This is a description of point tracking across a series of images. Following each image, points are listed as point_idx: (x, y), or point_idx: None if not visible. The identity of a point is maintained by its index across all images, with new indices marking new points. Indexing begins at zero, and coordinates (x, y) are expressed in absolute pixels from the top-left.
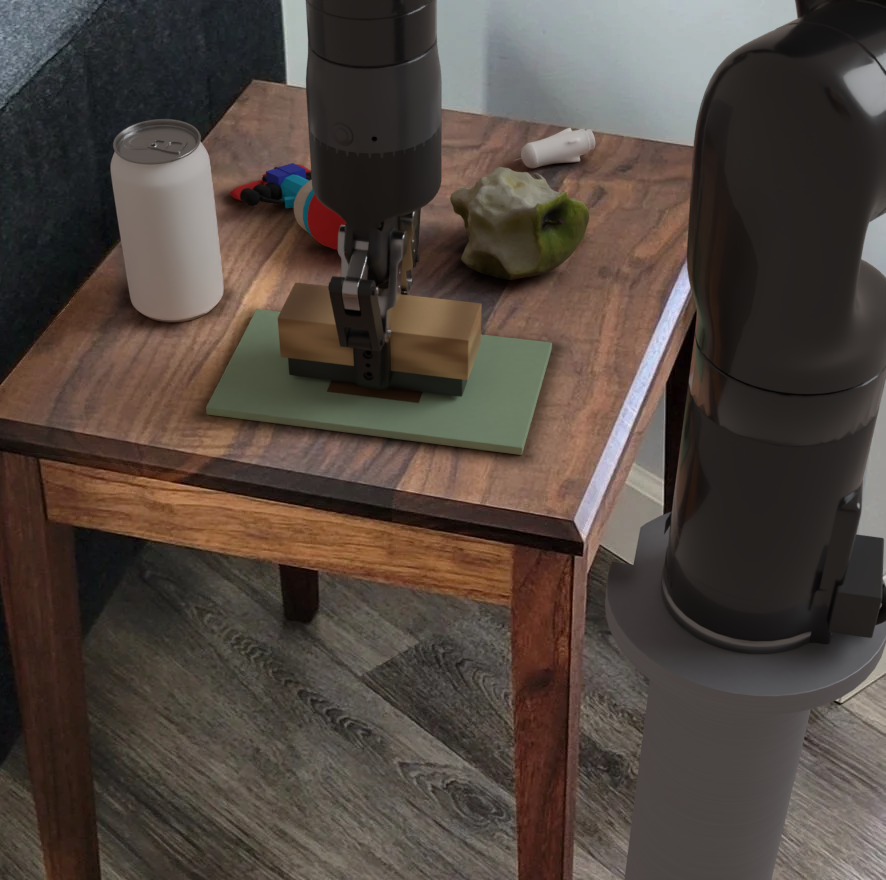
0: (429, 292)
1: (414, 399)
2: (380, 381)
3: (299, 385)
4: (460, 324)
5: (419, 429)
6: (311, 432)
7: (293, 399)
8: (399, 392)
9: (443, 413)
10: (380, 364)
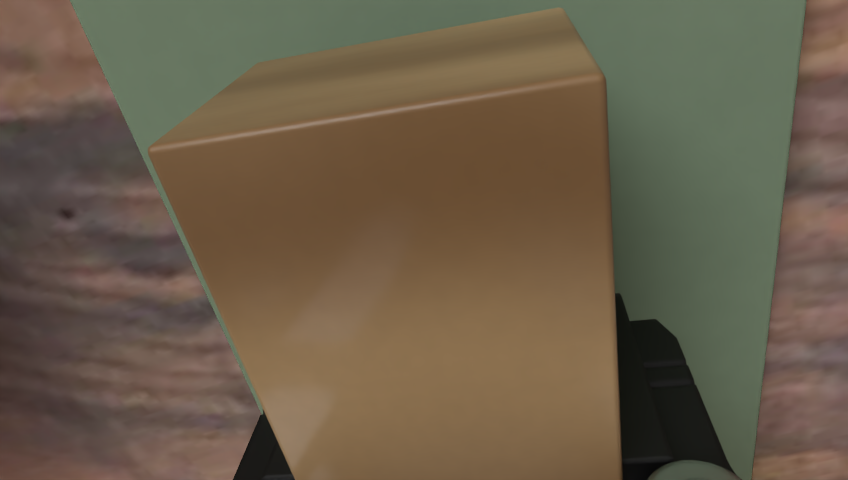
0: (30, 317)
1: None
2: (664, 334)
3: None
4: (435, 193)
5: (761, 106)
6: (766, 384)
7: None
8: None
9: (640, 56)
10: (673, 389)
